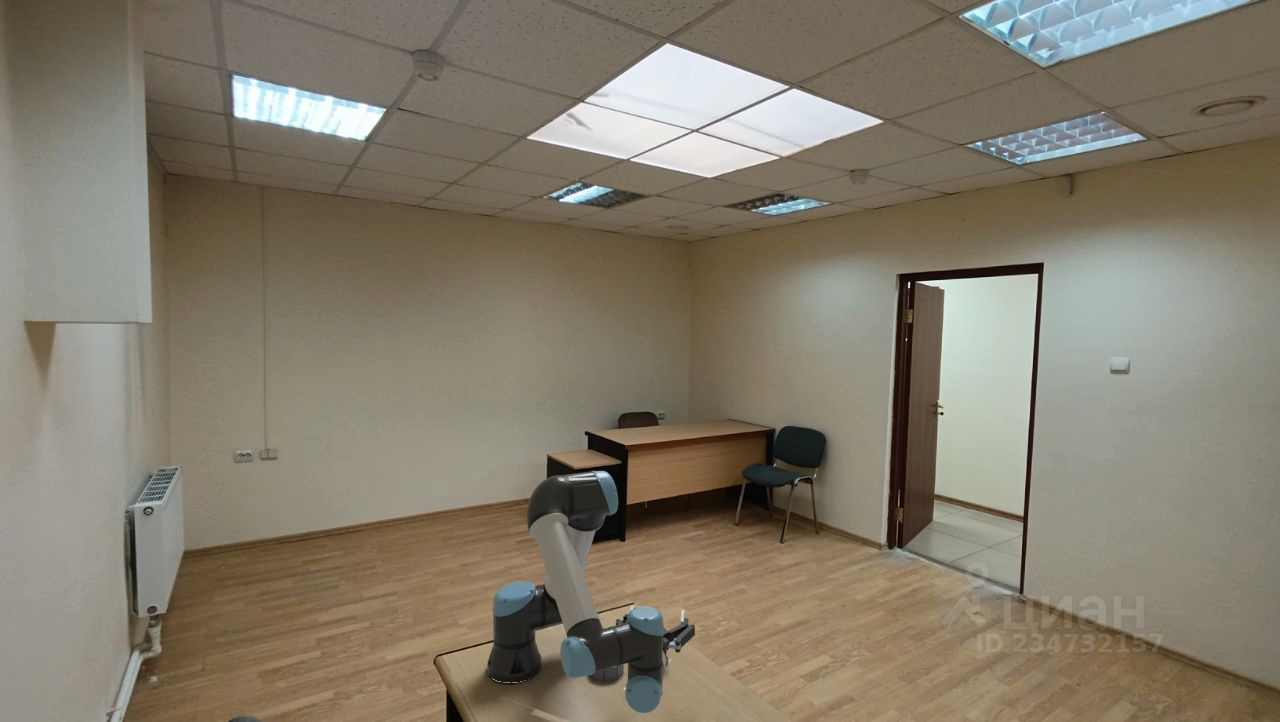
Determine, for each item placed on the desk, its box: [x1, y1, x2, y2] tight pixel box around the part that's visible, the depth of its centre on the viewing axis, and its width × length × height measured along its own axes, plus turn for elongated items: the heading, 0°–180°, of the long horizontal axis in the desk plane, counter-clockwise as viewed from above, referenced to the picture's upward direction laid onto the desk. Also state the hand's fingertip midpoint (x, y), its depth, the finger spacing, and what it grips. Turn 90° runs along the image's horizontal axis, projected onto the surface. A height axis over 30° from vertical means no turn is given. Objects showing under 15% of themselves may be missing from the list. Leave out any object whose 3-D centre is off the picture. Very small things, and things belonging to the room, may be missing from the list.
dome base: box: [590, 664, 625, 683], centre depth 160 cm, size 9×9×4 cm
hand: (657, 612), depth 154 cm, fingers open, 13 cm apart
